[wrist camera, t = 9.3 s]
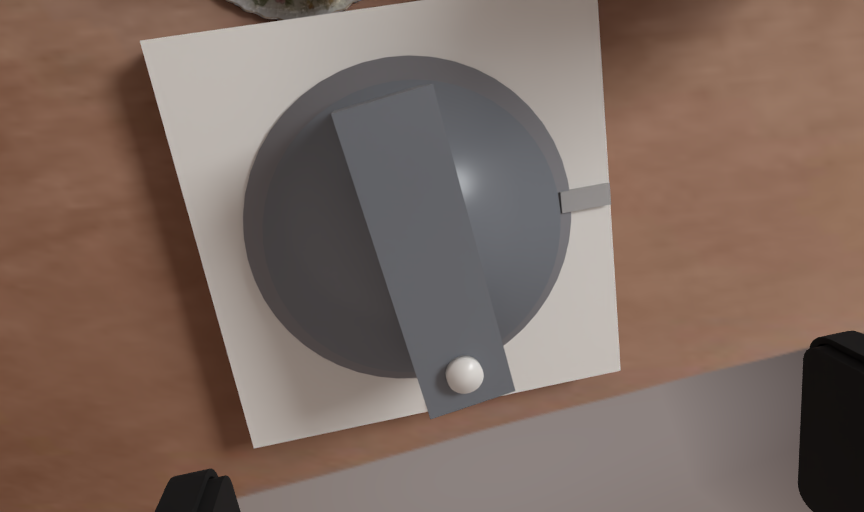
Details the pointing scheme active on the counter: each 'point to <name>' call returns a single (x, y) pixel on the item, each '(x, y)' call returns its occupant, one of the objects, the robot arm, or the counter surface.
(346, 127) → the dial
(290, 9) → the cake
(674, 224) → the counter surface
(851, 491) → the robot arm
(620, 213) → the counter surface
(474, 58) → the dial plate
